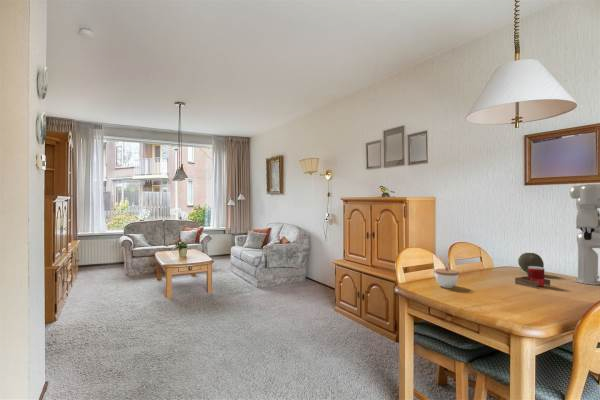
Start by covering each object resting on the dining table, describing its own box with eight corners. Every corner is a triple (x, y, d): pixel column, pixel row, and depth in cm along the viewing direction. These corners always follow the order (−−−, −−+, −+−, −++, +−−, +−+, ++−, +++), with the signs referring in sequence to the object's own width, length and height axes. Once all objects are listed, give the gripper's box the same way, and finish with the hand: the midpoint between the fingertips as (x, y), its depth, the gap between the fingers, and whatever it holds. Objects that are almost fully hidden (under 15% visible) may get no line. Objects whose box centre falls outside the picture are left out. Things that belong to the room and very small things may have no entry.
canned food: (547, 287, 194) (547, 268, 194) (534, 287, 194) (534, 268, 194) (537, 283, 202) (537, 266, 202) (524, 283, 201) (525, 265, 201)
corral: (529, 281, 208) (529, 275, 208) (550, 285, 197) (550, 280, 197) (515, 283, 202) (515, 277, 202) (536, 288, 191) (536, 282, 191)
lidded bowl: (451, 290, 184) (452, 270, 184) (430, 285, 194) (430, 267, 194) (462, 286, 192) (462, 268, 192) (441, 282, 202) (441, 264, 202)
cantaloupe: (538, 273, 233) (538, 251, 233) (546, 277, 219) (547, 255, 219) (515, 271, 237) (515, 250, 237) (522, 275, 223) (522, 253, 223)
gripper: (608, 208, 182) (607, 241, 182) (576, 207, 196) (575, 238, 196) (601, 208, 179) (600, 241, 179) (569, 207, 193) (568, 238, 193)
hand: (587, 239), depth 188 cm, fingers closed
